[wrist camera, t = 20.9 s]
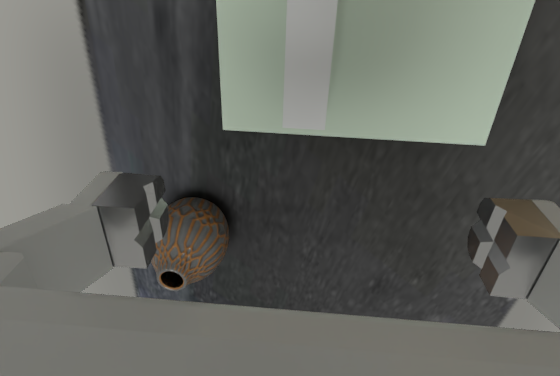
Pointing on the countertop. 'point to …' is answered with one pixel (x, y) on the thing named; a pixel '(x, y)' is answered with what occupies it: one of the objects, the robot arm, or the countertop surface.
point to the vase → (190, 243)
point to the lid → (368, 66)
